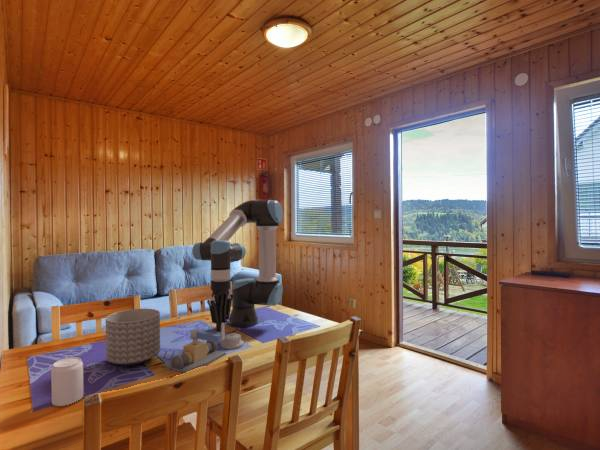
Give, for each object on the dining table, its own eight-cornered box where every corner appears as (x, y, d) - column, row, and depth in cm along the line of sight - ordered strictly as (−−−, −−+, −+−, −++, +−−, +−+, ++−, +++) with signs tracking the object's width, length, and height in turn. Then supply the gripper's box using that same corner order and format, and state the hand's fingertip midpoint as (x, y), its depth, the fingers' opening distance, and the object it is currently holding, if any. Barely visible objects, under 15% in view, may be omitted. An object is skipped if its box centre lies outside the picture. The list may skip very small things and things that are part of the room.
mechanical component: (216, 348, 149) (238, 350, 147) (216, 338, 149) (238, 340, 147) (226, 340, 159) (246, 342, 157) (226, 331, 159) (246, 332, 157)
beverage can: (61, 394, 111) (61, 357, 110) (88, 393, 111) (88, 356, 111) (45, 408, 103) (44, 368, 102) (74, 407, 103) (73, 367, 103)
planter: (105, 376, 123) (104, 325, 123) (106, 356, 140) (106, 312, 140) (162, 365, 132) (162, 318, 132) (157, 348, 149) (157, 306, 148)
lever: (189, 337, 136) (189, 331, 136) (194, 335, 139) (194, 329, 139) (216, 343, 130) (216, 337, 130) (222, 340, 133) (222, 334, 133)
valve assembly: (199, 348, 149) (199, 327, 149) (225, 354, 143) (225, 332, 143) (162, 366, 131) (161, 343, 131) (190, 374, 125) (190, 349, 125)
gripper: (224, 276, 145) (224, 332, 145) (201, 281, 133) (201, 342, 134) (238, 277, 141) (238, 335, 142) (216, 283, 130) (217, 346, 130)
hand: (220, 339), depth 138 cm, fingers closed
